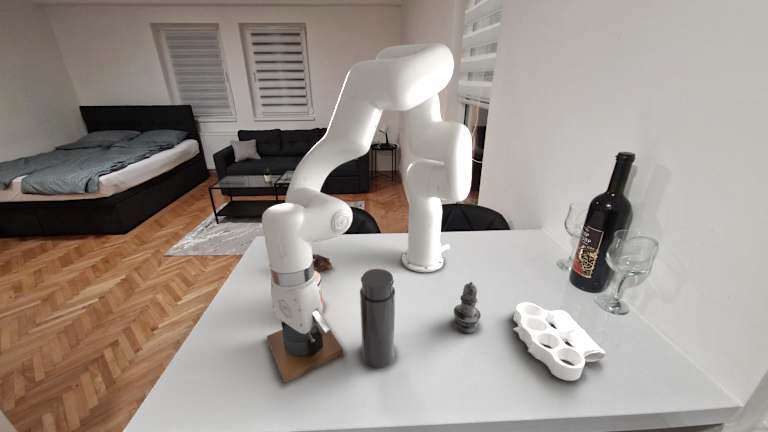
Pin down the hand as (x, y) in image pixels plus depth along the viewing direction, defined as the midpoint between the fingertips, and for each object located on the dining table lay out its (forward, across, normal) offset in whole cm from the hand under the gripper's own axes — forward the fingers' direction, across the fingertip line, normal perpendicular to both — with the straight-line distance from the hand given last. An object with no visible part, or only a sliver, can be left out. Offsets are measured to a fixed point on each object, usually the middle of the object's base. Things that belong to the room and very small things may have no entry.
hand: (303, 341), depth 63 cm
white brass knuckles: (+2, +41, +32) cm, 52 cm away
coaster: (+2, 0, 0) cm, 2 cm away
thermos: (+2, +14, +8) cm, 16 cm away
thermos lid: (0, 0, 0) cm, 0 cm away
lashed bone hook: (+2, -24, +19) cm, 31 cm away
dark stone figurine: (+2, +24, +26) cm, 36 cm away
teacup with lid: (+2, -10, +9) cm, 13 cm away
